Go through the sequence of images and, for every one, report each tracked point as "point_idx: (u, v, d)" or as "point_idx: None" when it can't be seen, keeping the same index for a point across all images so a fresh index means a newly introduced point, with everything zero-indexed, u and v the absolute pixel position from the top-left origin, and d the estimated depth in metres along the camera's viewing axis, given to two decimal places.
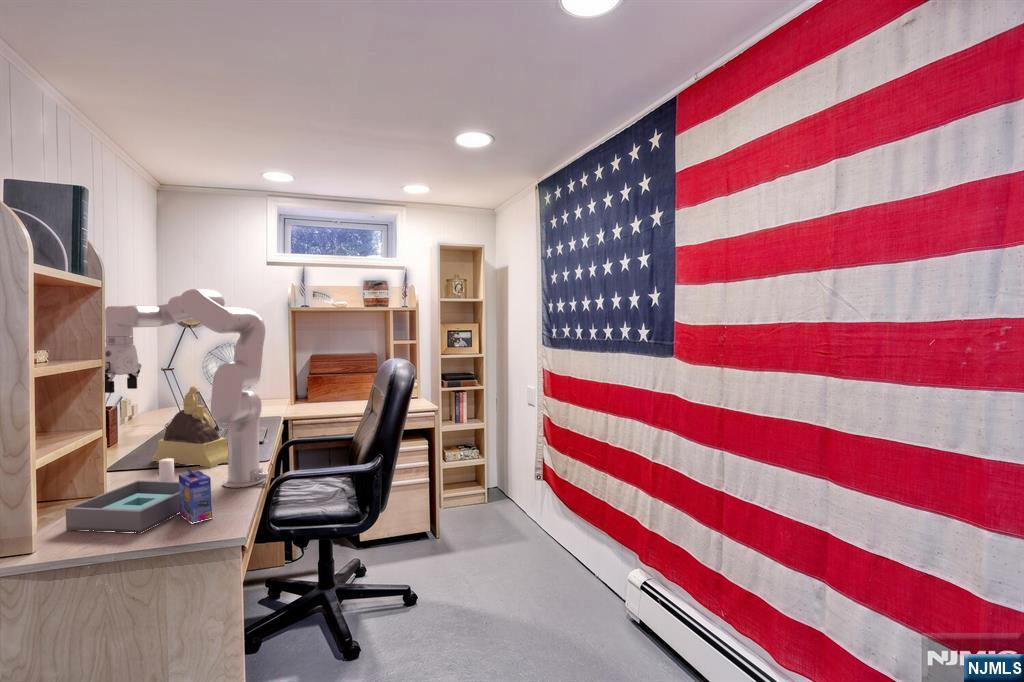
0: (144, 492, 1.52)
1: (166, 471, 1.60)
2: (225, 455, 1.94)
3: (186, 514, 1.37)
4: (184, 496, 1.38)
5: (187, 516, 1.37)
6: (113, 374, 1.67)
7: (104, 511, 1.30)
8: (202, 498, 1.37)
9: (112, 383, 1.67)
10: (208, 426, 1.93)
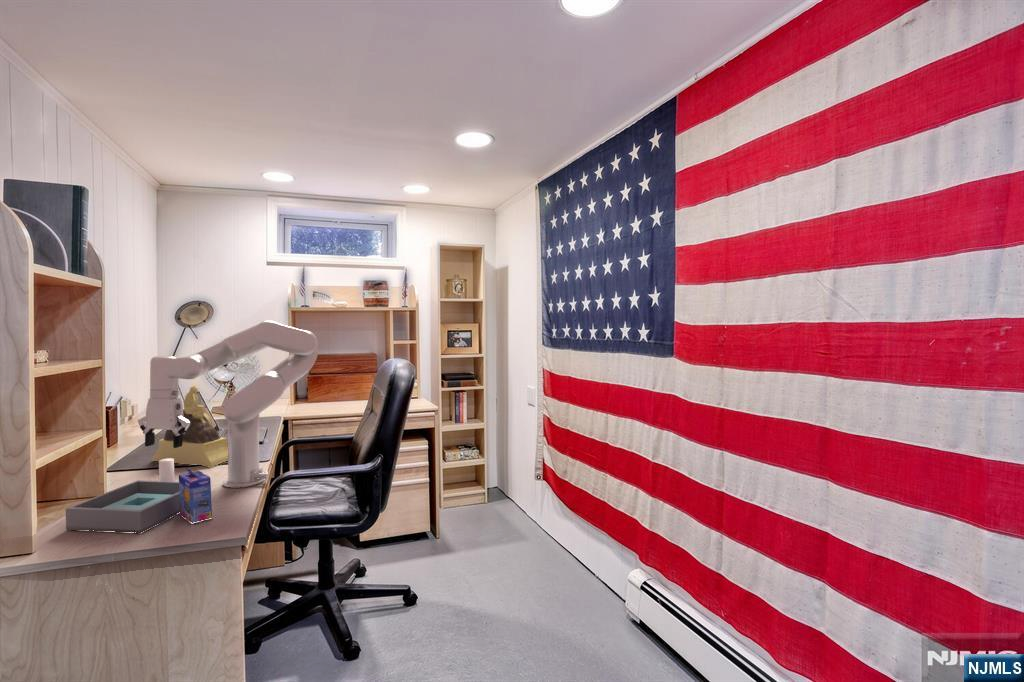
0: (144, 492, 1.52)
1: (166, 471, 1.60)
2: (225, 455, 1.94)
3: (186, 514, 1.37)
4: (184, 496, 1.38)
5: (187, 516, 1.37)
6: None
7: (104, 511, 1.30)
8: (202, 498, 1.37)
9: None
10: (208, 426, 1.93)
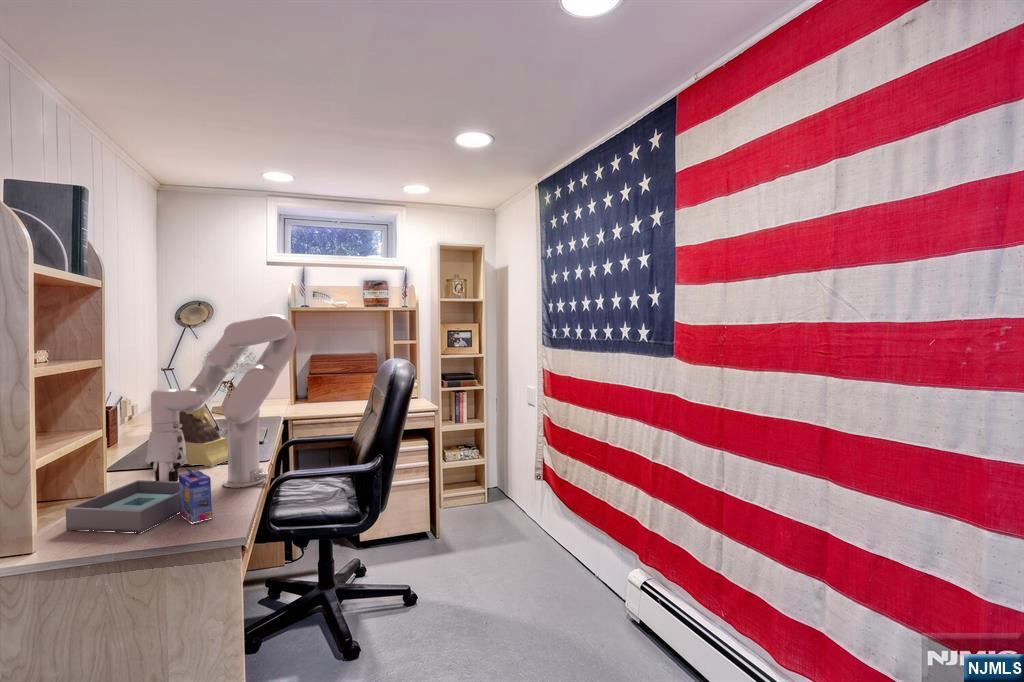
0: (144, 492, 1.52)
1: (166, 471, 1.60)
2: (226, 455, 1.94)
3: (186, 514, 1.37)
4: (184, 496, 1.38)
5: (187, 516, 1.37)
6: None
7: (104, 511, 1.30)
8: (202, 498, 1.37)
9: (177, 471, 1.63)
10: (209, 426, 1.93)
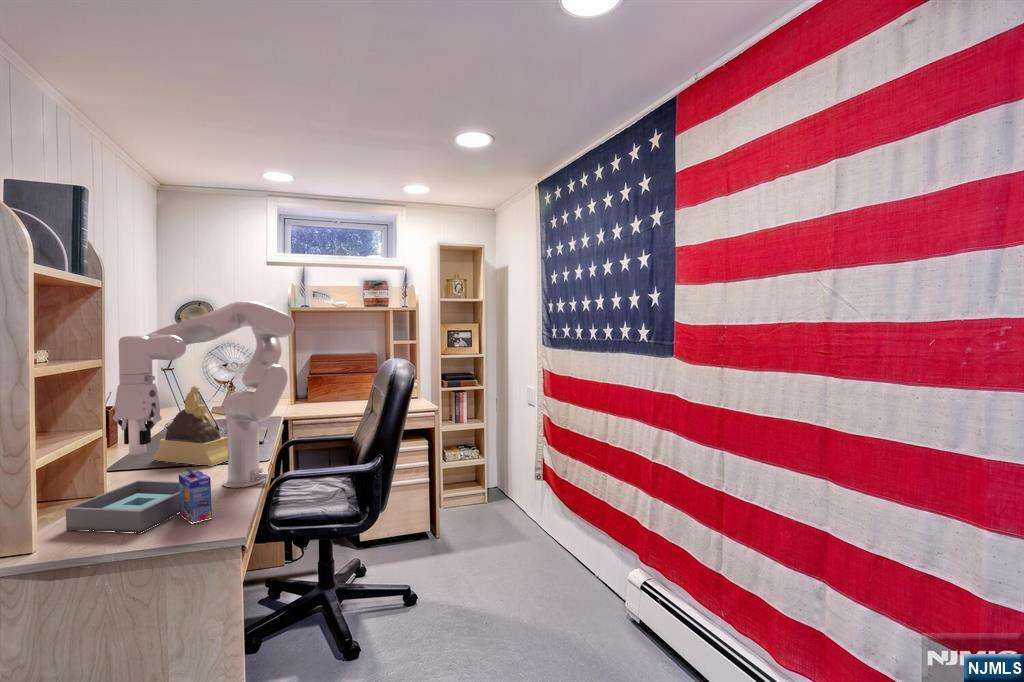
0: (144, 492, 1.52)
1: (136, 430, 1.39)
2: (226, 454, 1.95)
3: (186, 514, 1.37)
4: (184, 496, 1.38)
5: (187, 516, 1.37)
6: None
7: (104, 511, 1.30)
8: (202, 498, 1.37)
9: None
10: (209, 425, 1.94)
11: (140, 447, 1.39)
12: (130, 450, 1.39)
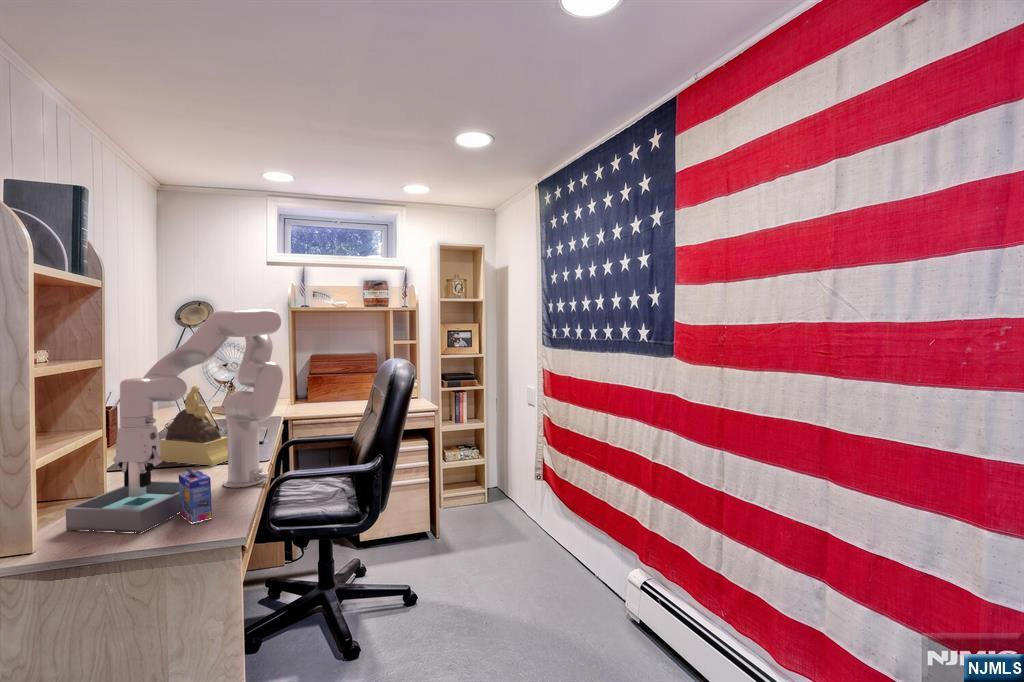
0: None
1: (136, 473, 1.39)
2: (227, 454, 1.95)
3: (186, 514, 1.37)
4: (184, 496, 1.38)
5: (187, 516, 1.37)
6: None
7: (104, 511, 1.30)
8: (202, 498, 1.37)
9: None
10: (210, 425, 1.94)
11: (140, 490, 1.40)
12: (130, 493, 1.39)
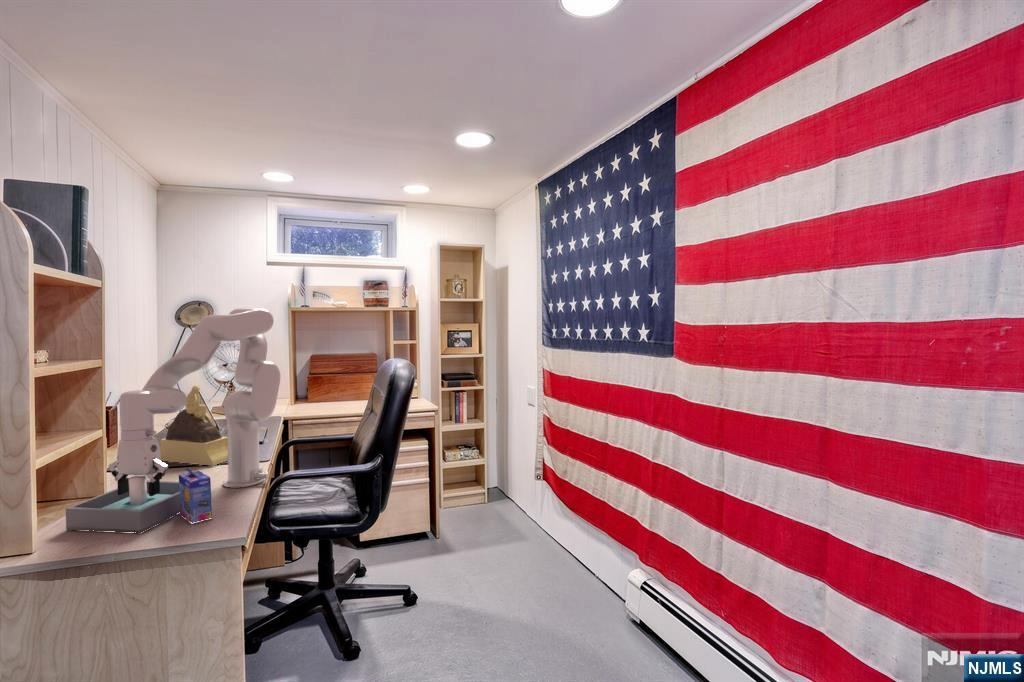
0: None
1: (137, 490, 1.39)
2: (227, 454, 1.95)
3: (186, 514, 1.37)
4: (184, 496, 1.38)
5: (187, 516, 1.37)
6: None
7: (104, 511, 1.30)
8: (202, 498, 1.37)
9: None
10: (210, 425, 1.94)
11: None
12: None
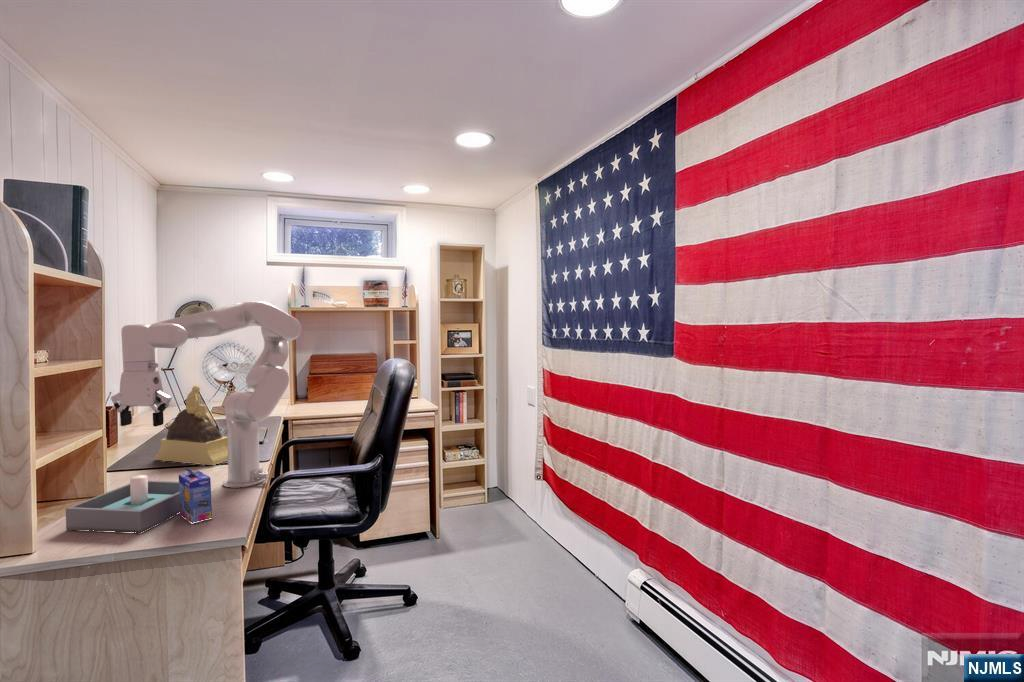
0: None
1: (138, 490, 1.39)
2: (227, 454, 1.95)
3: (186, 514, 1.37)
4: (184, 496, 1.38)
5: (187, 516, 1.37)
6: None
7: (104, 511, 1.30)
8: (202, 498, 1.37)
9: (162, 413, 1.45)
10: (210, 425, 1.95)
11: None
12: None
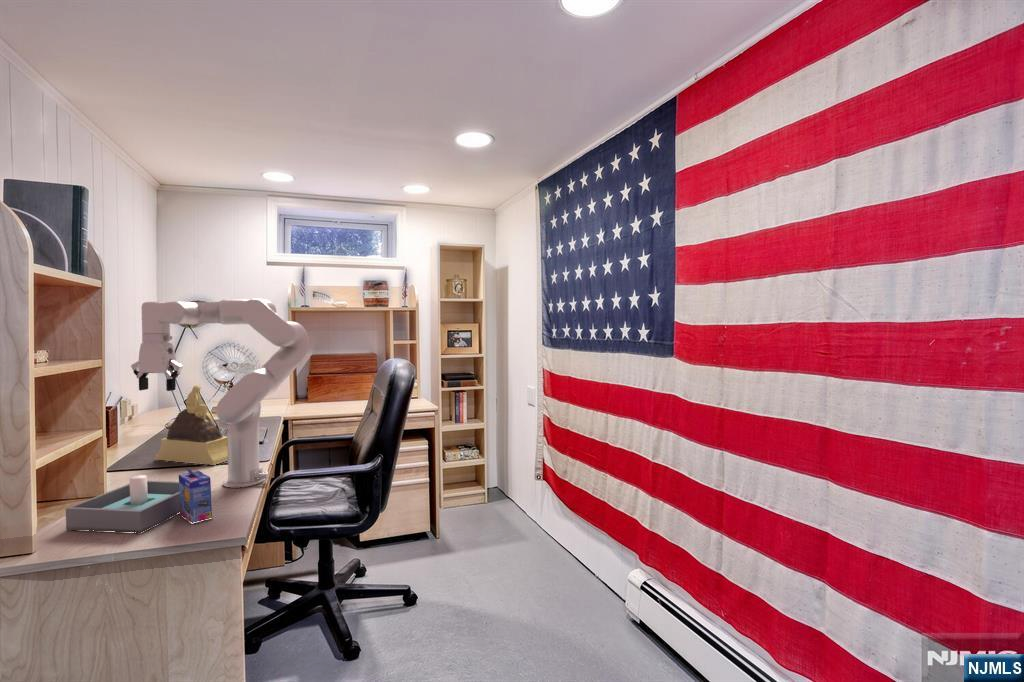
0: None
1: (137, 490, 1.39)
2: None
3: (186, 514, 1.37)
4: (184, 496, 1.38)
5: (187, 516, 1.37)
6: None
7: (104, 511, 1.30)
8: (202, 498, 1.37)
9: (174, 380, 1.66)
10: (211, 425, 1.95)
11: None
12: None
